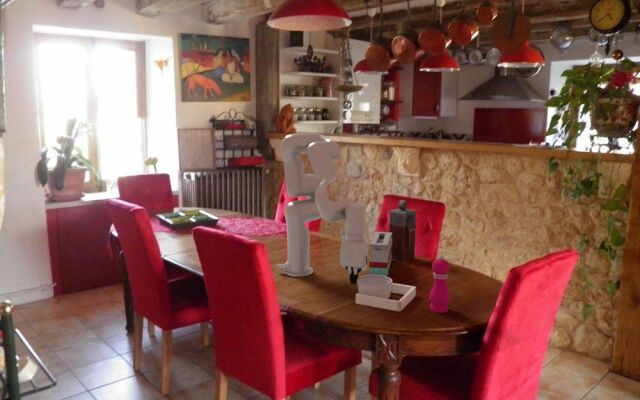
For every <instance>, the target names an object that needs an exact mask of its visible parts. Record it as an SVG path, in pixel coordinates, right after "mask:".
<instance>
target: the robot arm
mask: <svg viewBox="0 0 640 400" xmlns="http://www.w3.org/2000/svg"><path fill="white" fill-rule="evenodd" d="M280 153H281V159H282V161H283V166H284V167H283V168H284V178H285V179H284V181H285V189H286V193H287V195H288V196H289V197H290V198H302V197H304V198H305V197H306V198H305V199H299V200H293V201H290V202H288V203H287V204H286V205H285V207H284V218H285V222H286V238H287V241H286V242H287V244H286V245H287V246H286V247H287V248H286V249H287V253H286V254H287V257H286V258H287V260H286V261H285V262H283V263H276V269H279V270H283V274H285V275H286V276H290V277H295V278H296V277H297V278H299V277H307V276H311V275H313V273H314V269H313V268H312V267H310V231H309V228H308V227H307V224H306V222H307V223H308V222H312V221H317V220H319V219H321V218H322V220H323V221H324V222H326V223H337V222H342V221H343V222H344V231H343V232H341V236H343V239H342V240H341V245H340V253H339V264H340V266H341V268H344V269H346V270H347V273H348V274H349V277H348V278H349V283H350V285H356V284H357V279H358V278H359V274H360V272H364V271H365V272H366V271H367V270H369V267H368V265H369V264H368V263H369V254H368V252H369V250H368V245H367V241H366V240H365V232H366V231H365V226H366V223H365V220H366V218H365V217H366V216H365V215H366V214H365V213H366V208H365V206H364V205H363V204H361V203H355V202H353V201H350V200H340V201H339V200H338V201H334V202H332V201H330V198H329V195H328V186H329V185H330V184H331V183H333V182H334V181H335V180H336V179H337V178H338V176H339V173H338V171H337V169H336V166H335V163H334V162H336V161H338V160H339V159H340V158H341V155H342V154H341V147H340V145H339V144H338V143H337V142H336V141H335V140H334V139H331V138H328V137H327V136H324V135H323V134H320V133H318V132H304V133H302V132H299V133H290V134H288V135H286V136H285V137H283V138H282V140H281V144H280ZM301 154H302V155H305V154H306V155H307V156H306V157H307V158H308V161H309V163H310V165H311V168H312V170H313V173H306V171H305V164H304V161H303V159H302V158H301V156H300V155H301Z"/></svg>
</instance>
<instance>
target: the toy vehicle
mask: <svg viewBox="0 0 640 400" xmlns="http://www.w3.org/2000/svg"><path fill="white" fill-rule="evenodd" d="M368 252H369V254H368V263H369V264H368V275H382V276H386V277H388V275H389V270H390V267H391V265H392V261H393V260H392V259H391V258H392V233H390V232H389V231H387V232H385V231H374V233H373V235H372V238H371V239H370V242H369V250H368Z"/></svg>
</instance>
